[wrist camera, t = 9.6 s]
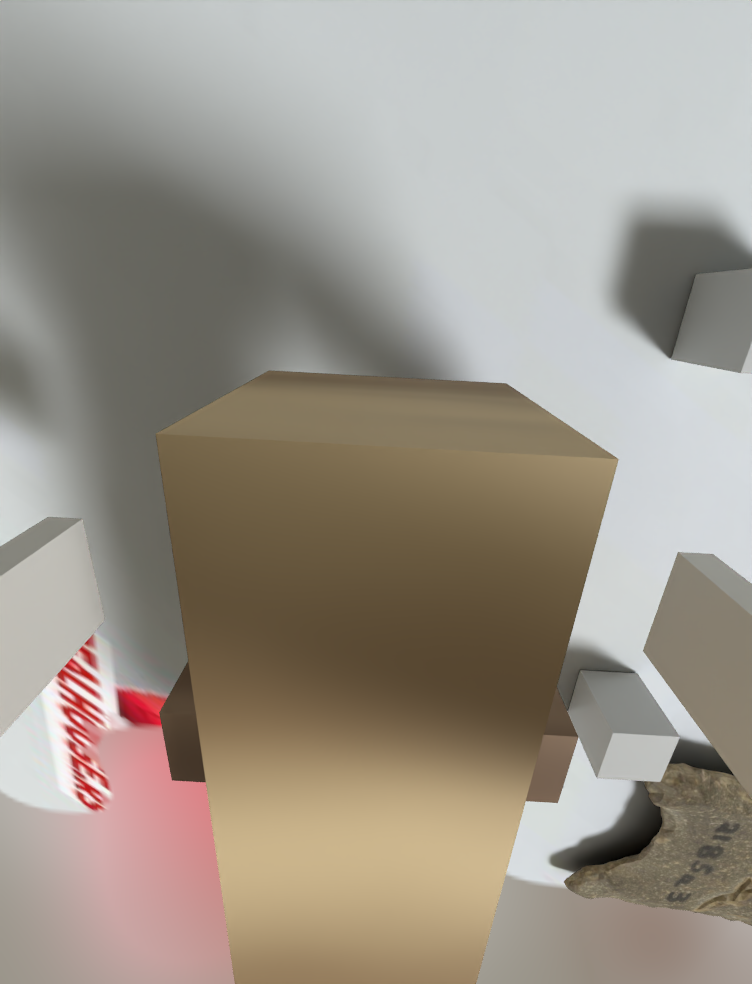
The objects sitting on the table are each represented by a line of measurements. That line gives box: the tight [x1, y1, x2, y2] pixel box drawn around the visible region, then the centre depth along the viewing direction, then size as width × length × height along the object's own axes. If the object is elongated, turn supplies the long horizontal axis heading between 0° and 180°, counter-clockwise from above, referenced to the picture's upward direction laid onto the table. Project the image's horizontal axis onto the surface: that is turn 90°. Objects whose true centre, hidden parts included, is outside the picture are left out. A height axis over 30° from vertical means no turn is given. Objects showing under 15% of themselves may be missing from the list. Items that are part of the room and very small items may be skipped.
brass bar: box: [156, 371, 618, 984], centre depth 9 cm, size 19×4×4 cm, turn 177°
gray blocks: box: [568, 269, 752, 782], centre depth 15 cm, size 17×2×3 cm, turn 177°
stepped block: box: [159, 662, 578, 803], centre depth 14 cm, size 5×10×7 cm, turn 87°
